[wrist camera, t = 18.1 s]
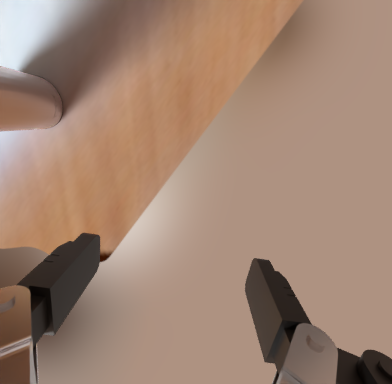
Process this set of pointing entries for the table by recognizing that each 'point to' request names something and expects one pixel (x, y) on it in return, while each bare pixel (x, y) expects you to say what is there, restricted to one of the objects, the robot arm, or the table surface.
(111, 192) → the table surface
